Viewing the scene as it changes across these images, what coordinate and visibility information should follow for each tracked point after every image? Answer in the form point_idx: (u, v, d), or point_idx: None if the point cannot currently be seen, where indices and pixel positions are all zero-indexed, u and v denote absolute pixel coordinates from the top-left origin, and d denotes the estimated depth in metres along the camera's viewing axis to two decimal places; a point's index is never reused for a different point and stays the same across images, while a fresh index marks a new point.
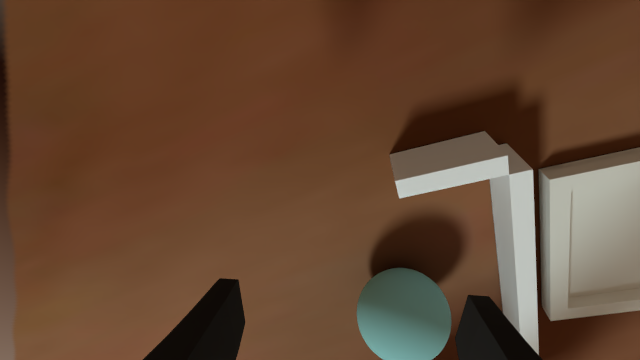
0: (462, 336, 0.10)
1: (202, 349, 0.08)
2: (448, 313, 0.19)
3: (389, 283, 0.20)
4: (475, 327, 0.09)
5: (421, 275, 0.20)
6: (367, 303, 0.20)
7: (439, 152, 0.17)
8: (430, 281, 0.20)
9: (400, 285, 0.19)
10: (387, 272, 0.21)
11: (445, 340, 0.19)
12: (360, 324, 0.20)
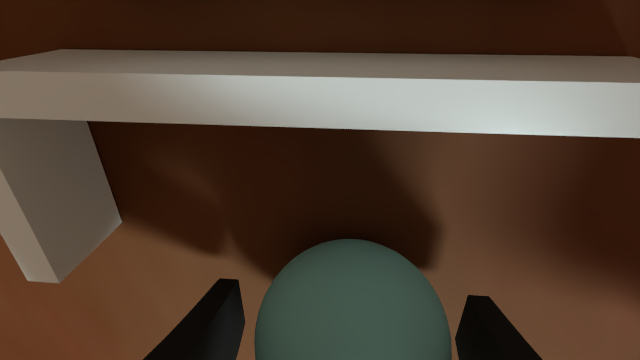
0: (462, 336, 0.10)
1: (202, 349, 0.08)
2: (332, 289, 0.08)
3: None
4: (475, 327, 0.09)
5: (285, 266, 0.10)
6: None
7: None
8: (293, 262, 0.10)
9: None
10: None
11: (369, 345, 0.07)
12: None
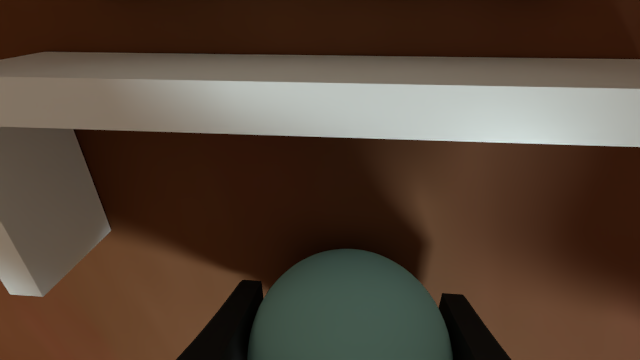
0: None
1: (231, 351, 0.08)
2: (328, 305, 0.08)
3: None
4: (448, 325, 0.09)
5: None
6: None
7: None
8: (288, 274, 0.09)
9: None
10: None
11: None
12: None
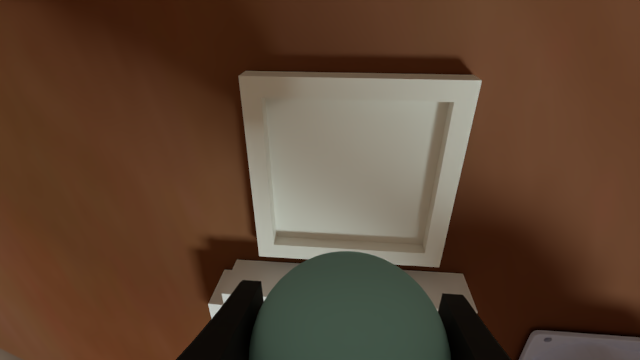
0: None
1: (231, 351, 0.08)
2: (328, 308, 0.08)
3: None
4: (448, 325, 0.09)
5: (279, 281, 0.10)
6: None
7: None
8: (288, 277, 0.09)
9: None
10: None
11: None
12: None
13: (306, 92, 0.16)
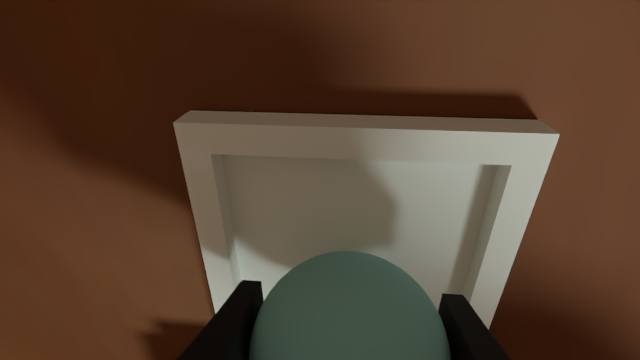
0: None
1: (231, 351, 0.08)
2: (328, 308, 0.08)
3: None
4: (448, 325, 0.09)
5: (279, 280, 0.10)
6: None
7: None
8: (288, 277, 0.09)
9: None
10: None
11: None
12: None
13: (279, 147, 0.10)
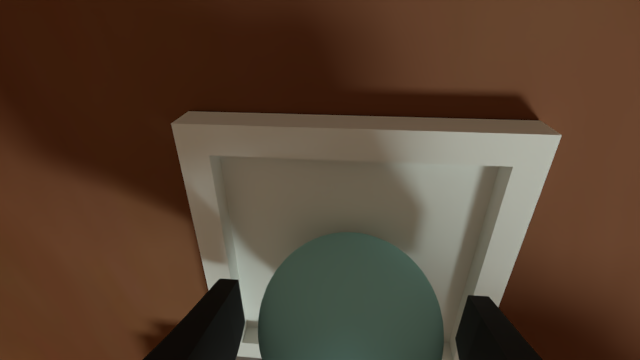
0: (462, 336, 0.10)
1: (202, 349, 0.08)
2: (331, 278, 0.09)
3: None
4: (475, 327, 0.09)
5: (285, 259, 0.11)
6: None
7: None
8: (293, 255, 0.10)
9: None
10: None
11: (367, 328, 0.08)
12: None
13: (278, 149, 0.10)
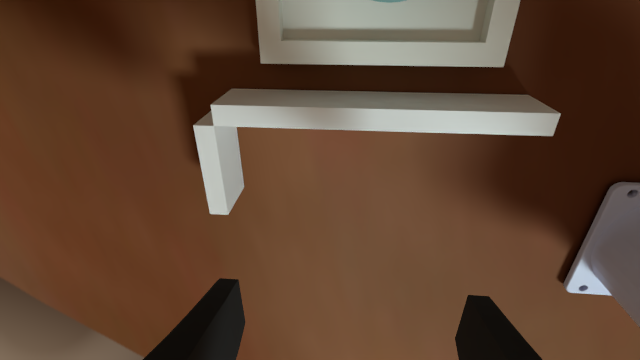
0: (462, 336, 0.10)
1: (202, 349, 0.08)
2: None
3: None
4: (475, 327, 0.09)
5: None
6: None
7: None
8: None
9: None
10: None
11: None
12: None
13: None
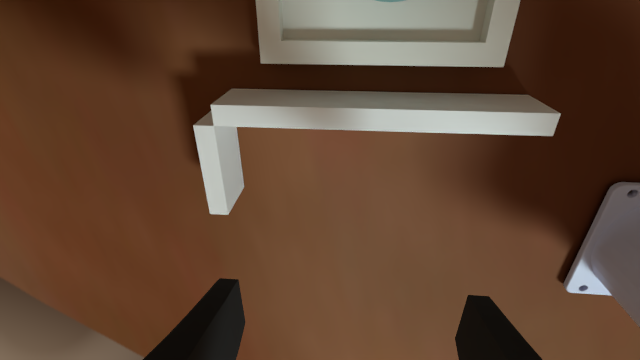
0: (462, 336, 0.10)
1: (202, 349, 0.08)
2: None
3: None
4: (475, 327, 0.09)
5: None
6: None
7: None
8: None
9: None
10: None
11: None
12: None
13: None
